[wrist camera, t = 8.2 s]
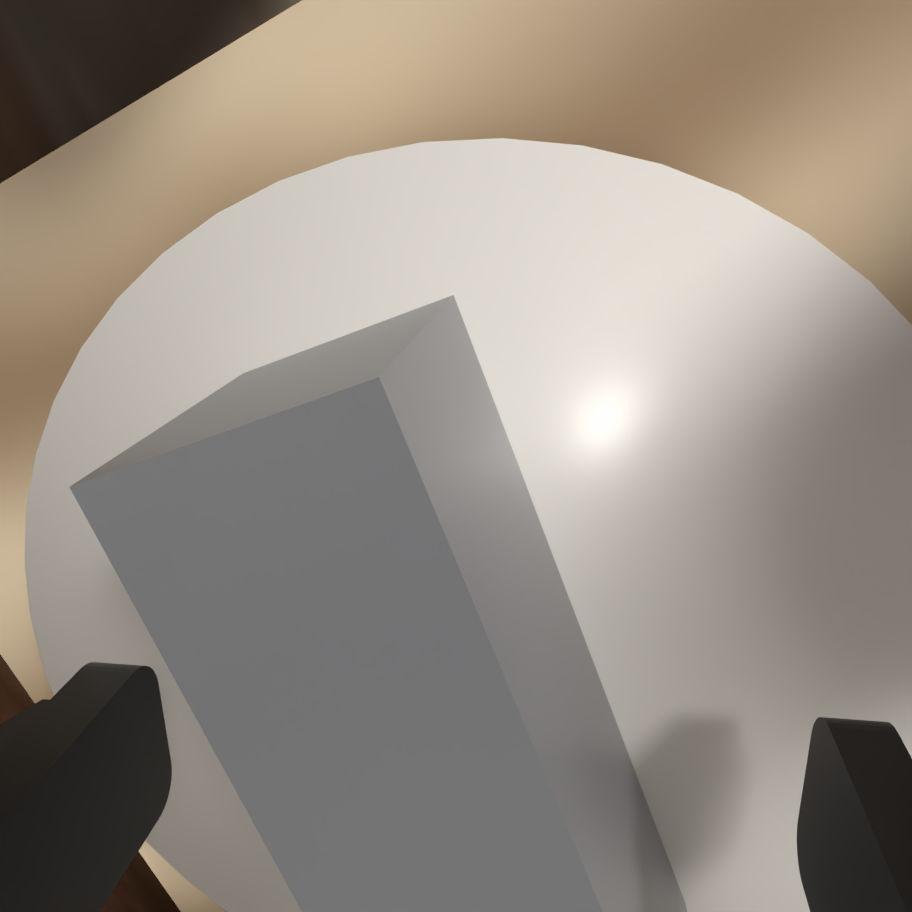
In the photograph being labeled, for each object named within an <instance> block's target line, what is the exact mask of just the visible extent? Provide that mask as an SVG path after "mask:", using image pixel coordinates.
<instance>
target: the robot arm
mask: <svg viewBox="0 0 912 912" xmlns="http://www.w3.org/2000/svg"><path fill="white" fill-rule="evenodd" d="M171 778H172V765H171V758H170V751H169V745H168V739H167V733H166V727H165V720H164V714H163V708H162V702H161V696H160V689H159V683H158V679H157V676H156V674H155V672H154V670H153V669H152V668H151V667H149V666H141V665H127V664H113V663H99V662H91V663H87V664H86V665H84V666H83V667H82V668H81V669H79V670H78V672H77V673H76V674H75V675H74V676H73V677H72V678H71V679H70V680H69V681H68V682H67V683H66V684H65V685H64V686H63V687H62V688H61V689H60V690H59V691H58V692H57V693H56V694H55V695H54V696H53V697H52V698H51V699H50V700H46V699H42V700H40V701H39V702H37V703H35V704H34V705H32V706H30V707H29V708H27V709H25V710H24V711H22V712H20V713H19V714H17V715H15V716H14V717H12V718H10V719H9V720H7V721H5V722H4V723H2V724H0V912H100V911H101V909H102V908H103V906H104V904H105V903H106V901H107V900H108V898H109V897H110V895H111V893H112V892H113V890H114V889H115V887H116V886H117V884H118V882H119V881H120V879H121V878H122V876H123V875H124V873H125V871H126V870H127V868H128V867H129V865H130V864H131V862H132V860H133V859H134V857H135V856H136V854H137V853H138V851H139V849H140V848H141V846H142V845H143V843H144V842H145V840H146V838H147V837H148V835H149V834H150V832H151V831H152V829H153V827H154V826H155V824H156V823H157V821H158V820H159V818H160V816H161V814H162V812H163V810H164V808H165V805H166V802H167V799H168V795H169V791H170V786H171ZM797 856H798V865H799V872H800V877H801V881H802V885H803V889H804V892H805V896H806V899H807V902H808V906H809V909H810V912H912V758H911V756H910V754H909V752H908V750H907V748H906V747H905V745H904V743H903V741H902V739H901V737H900V735H899V734H898V732H897V730H896V729H895V727H894V726H893V725H892V724H891V723H889V722H881V721H867V720H853V719H840V718H826V717H819V718H817V719H816V721H815V723H814V725H813V728H812V733H811V739H810V745H809V752H808V758H807V764H806V771H805V777H804V784H803V790H802V797H801V803H800V810H799V816H798V824H797Z"/></svg>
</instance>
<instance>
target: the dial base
mask: <svg viewBox="0 0 912 912" xmlns="http://www.w3.org/2000/svg"><path fill="white" fill-rule="evenodd" d="M494 138H507V139H518V140H529V141H540V142H551V143H562V144H573V145H583V146H587V147H591V148H596V149H600V150H604V151H608V152H613V153H617V154H621V155H625V156H630V157H634V158H638V159H642V160H647V161H651V162H655V163H659V164H663V165H666V166H668V167H671V168H673V169H676V170H678V171H681V172H684V173H686V174H689V175H691V176H694V177H696V178H699V179H702V180H704V181H707V182H709V183H712V184H714V185H717V186H719V187H722V188H725V189H727V190H730V191H732V192H735V193H737V194H739V195H741V196H743V197H745V198H746V199H748V200H750V201H752V202H753V203H755V204H757V205H759V206H761V207H762V208H764V209H766V210H768V211H769V212H771V213H773V214H775V215H777V216H778V217H780V218H782V219H784V220H785V221H787V222H789V223H791V224H792V225H794V226H796V227H798V228H800V229H801V230H803V231H805V232H807V233H808V234H810V235H811V236H812V237H813V238H815V239H816V240H817V241H819V242H820V243H821V244H822V245H824V246H825V247H826V248H828V249H829V250H830V251H831V252H833V253H834V254H835V255H837V256H838V257H839V258H841V259H842V260H843V261H844V262H846V263H847V264H848V265H850V266H851V267H852V268H853V269H855V270H856V271H857V272H859V273H860V274H861V275H862V276H864V277H865V278H866V279H868V280H869V281H870V282H871V283H872V284H873V285H874V286H875V287H876V288H877V289H878V290H879V291H880V292H881V293H882V294H883V295H884V296H885V298H886V299H887V300H888V301H889V302H890V303H891V304H892V305H893V306H894V307H895V308H896V309H897V310H898V311H899V312H900V313H901V314H902V315H903V316H904V317H905V319H906V320H907V321H908V322H909V323H910V324H911V325H912V0H302V1H300V2H298V3H297V4H295V5H293V6H292V7H290V8H289V9H287V10H285V11H284V12H282V13H280V14H279V15H277V16H275V17H274V18H272V19H270V20H269V21H267V22H265V23H264V24H262V25H260V26H259V27H257V28H256V29H254V30H252V31H251V32H249V33H247V34H246V35H244V36H242V37H241V38H239V39H237V40H236V41H234V42H232V43H231V44H229V45H228V46H226V47H224V48H223V49H221V50H219V51H218V52H216V53H214V54H213V55H211V56H209V57H208V58H206V59H204V60H203V61H201V62H200V63H198V64H196V65H195V66H193V67H191V68H190V69H188V70H186V71H185V72H183V73H181V74H180V75H178V76H176V77H175V78H173V79H172V80H170V81H168V82H167V83H165V84H163V85H162V86H160V87H158V88H157V89H155V90H153V91H152V92H150V93H148V94H147V95H145V96H143V97H142V98H140V99H139V100H137V101H135V102H134V103H132V104H130V105H129V106H127V107H125V108H124V109H122V110H120V111H119V112H117V113H115V114H114V115H112V116H111V117H109V118H107V119H106V120H104V121H102V122H101V123H99V124H97V125H96V126H94V127H92V128H91V129H89V130H87V131H86V132H84V133H83V134H81V135H79V136H78V137H76V138H74V139H73V140H71V141H69V142H68V143H66V144H64V145H63V146H61V147H59V148H58V149H56V150H54V151H53V152H51V153H50V154H48V155H46V156H45V157H43V158H41V159H40V160H38V161H36V162H35V163H33V164H31V165H30V166H28V167H26V168H25V169H23V170H22V171H20V172H18V173H17V174H15V175H13V176H12V177H10V178H8V179H7V180H5V181H3V182H2V183H0V654H1V656H2V657H3V659H4V660H5V661H6V663H7V664H8V666H9V667H10V669H11V670H12V671H13V673H14V674H15V676H16V677H17V679H18V680H19V681H20V683H21V684H22V686H23V687H24V689H25V690H26V691H27V693H28V694H29V696H30V697H31V699H32V700H33V701H34V703H37V702H39V701H40V700H42V699H46V700H50V699H51V698H52V697H53V696H54V695H53V692H52V690H51V687H50V685H49V682H48V679H47V677H46V674H45V671H44V669H43V666H42V662H41V658H40V654H39V650H38V646H37V641H36V637H35V633H34V629H33V625H32V621H31V617H30V609H29V600H28V591H27V582H26V572H25V563H24V561H25V529H26V507H27V501H28V495H29V490H30V484H31V478H32V473H33V467H34V461H35V456H36V452H37V449H38V446H39V443H40V440H41V437H42V434H43V431H44V428H45V425H46V422H47V419H48V417H49V414H50V411H51V408H52V405H53V402H54V399H55V397H56V395H57V393H58V392H59V390H60V388H61V386H62V384H63V382H64V380H65V378H66V376H67V374H68V372H69V370H70V368H71V366H72V364H73V363H74V361H75V359H76V357H77V355H78V353H79V351H80V349H81V347H82V346H83V345H84V343H85V342H86V341H87V339H88V338H89V336H90V335H91V334H92V332H93V331H94V330H95V328H96V327H97V325H98V324H99V323H100V321H101V320H102V319H103V317H104V316H105V315H106V313H107V312H108V310H109V309H110V308H111V306H112V305H113V304H114V302H115V301H116V299H117V298H118V297H119V296H120V295H121V294H122V293H123V292H124V291H125V290H126V289H127V288H128V287H129V286H130V285H131V284H132V283H133V282H134V281H135V280H136V279H137V278H138V277H139V276H140V275H141V274H142V273H143V272H144V271H145V270H146V269H147V268H148V267H149V266H150V265H151V264H152V263H153V262H154V261H155V260H156V259H157V258H158V257H159V256H160V255H161V254H162V253H163V252H165V251H166V250H168V249H169V248H170V247H172V246H173V245H174V244H176V243H177V242H178V241H180V240H181V239H183V238H184V237H185V236H187V235H188V234H189V233H191V232H192V231H193V230H195V229H196V228H198V227H199V226H200V225H202V224H203V223H204V222H206V221H207V220H208V219H210V218H211V217H213V216H214V215H215V214H217V213H219V212H220V211H222V210H224V209H226V208H228V207H230V206H232V205H234V204H236V203H238V202H239V201H241V200H243V199H245V198H247V197H249V196H251V195H253V194H255V193H257V192H259V191H260V190H262V189H264V188H266V187H268V186H270V185H272V184H274V183H276V182H278V181H280V180H283V179H286V178H288V177H291V176H294V175H297V174H300V173H303V172H306V171H308V170H311V169H314V168H317V167H320V166H323V165H326V164H328V163H331V162H334V161H337V160H340V159H343V158H346V157H349V156H354V155H359V154H364V153H369V152H374V151H380V150H385V149H390V148H395V147H400V146H405V145H411V144H416V143H421V142H433V141H453V140H474V139H494ZM139 853H140V854H141V856H142V857H143V858H144V860H145V861H146V863H147V864H148V865H149V867H150V868H151V870H152V871H153V873H154V874H155V875H156V877H157V878H158V880H159V881H160V883H161V884H162V885H163V887H164V888H165V890H166V891H167V893H168V894H169V895H170V897H171V898H172V900H173V901H174V903H175V904H176V905H177V907H178V908H179V910H180V911H181V912H227V911H226V910H224V909H223V908H222V907H221V906H219V905H218V904H217V903H215V902H214V901H213V900H212V899H210V898H209V897H208V896H207V895H205V894H204V893H203V892H201V891H200V890H199V889H198V888H196V887H195V886H194V885H192V884H191V883H190V882H189V881H187V880H186V879H185V878H184V877H183V876H182V875H181V874H180V873H179V872H178V871H177V870H175V869H174V868H173V867H172V866H171V865H170V864H169V863H168V862H167V861H166V860H165V859H164V858H163V857H162V856H161V855H160V854H159V853H158V852H157V851H156V850H155V849H153V848H152V847H151V846H150V845H149V844H148V843H147V841H146V840H145V842H144V843H143V845H142V846H141V848H140V849H139Z"/></svg>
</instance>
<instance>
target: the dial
mask: <svg viewBox="0 0 912 912" xmlns="http://www.w3.org/2000/svg"><path fill="white" fill-rule="evenodd" d="M24 563H25V572H26V582H27V591H28V600H29V609H30V617H31V621H32V625H33V629H34V633H35V637H36V641H37V646H38V650H39V654H40V658H41V662H42V666H43V669H44V671H45V674H46V677H47V679H48V682H49V685H50V687H51V690H52V692H53V695H55V694H56V693H57V692H58V691H59V690H60V689H61V688H62V687H63V686H64V685H65V684H66V683H67V682H68V681H69V680H70V679H71V678H72V677H73V676H74V675H75V674H76V673H77V672H78V670H79V669H81V668H82V667H83V666H84V665H86V664H87V663H91V662H99V663H113V664H127V665H141V666H149V667H151V668H152V669H153V670H154V672H155V674H156V676H157V679H158V683H159V689H160V696H161V702H162V708H163V714H164V720H165V727H166V733H167V739H168V745H169V751H170V758H171V765H172V778H171V786H170V791H169V795H168V799H167V802H166V805H165V808H164V810H163V812H162V814H161V816H160V818H159V820H158V821H157V823H156V824H155V826H154V827H153V829H152V831H151V832H150V834H149V835H148V837H147V838H146V841H147V843H148V844H149V845H150V846H151V847H152V848H153V849H155V850H156V851H157V852H158V853H159V854H160V855H161V856H162V857H163V858H164V859H165V860H166V861H167V862H168V863H169V864H170V865H171V866H172V867H173V868H174V869H175V870H177V871H178V872H179V873H180V874H181V875H182V876H183V877H184V878H185V879H186V880H187V881H189V882H190V883H191V884H192V885H194V886H195V887H196V888H198V889H199V890H200V891H201V892H203V893H204V894H205V895H207V896H208V897H209V898H210V899H212V900H213V901H214V902H215V903H217V904H218V905H219V906H221V907H222V908H223V909H224V910H226V911H227V912H810V909H809V906H808V902H807V899H806V896H805V892H804V889H803V885H802V881H801V877H800V872H799V865H798V856H797V824H798V816H799V810H800V803H801V797H802V790H803V784H804V777H805V771H806V764H807V758H808V752H809V745H810V739H811V733H812V728H813V725H814V723H815V721H816V719H817V718H819V717H826V718H840V719H853V720H867V721H881V722H889V723H891V724H892V725H893V726H894V727H895V729H896V730H897V732H898V734H899V735H900V737H901V739H902V741H903V743H904V745H905V747H906V748H907V750H908V752H909V754H910V756H911V758H912V325H911V324H910V323H909V322H908V321H907V320H906V319H905V317H904V316H903V315H902V314H901V313H900V312H899V311H898V310H897V309H896V308H895V307H894V306H893V305H892V304H891V303H890V302H889V301H888V300H887V299H886V298H885V296H884V295H883V294H882V293H881V292H880V291H879V290H878V289H877V288H876V287H875V286H874V285H873V284H872V283H871V282H870V281H869V280H868V279H866V278H865V277H864V276H862V275H861V274H860V273H859V272H857V271H856V270H855V269H853V268H852V267H851V266H850V265H848V264H847V263H846V262H844V261H843V260H842V259H841V258H839V257H838V256H837V255H835V254H834V253H833V252H831V251H830V250H829V249H828V248H826V247H825V246H824V245H822V244H821V243H820V242H819V241H817V240H816V239H815V238H813V237H812V236H811V235H810V234H808V233H807V232H805V231H803V230H801V229H800V228H798V227H796V226H794V225H792V224H791V223H789V222H787V221H785V220H784V219H782V218H780V217H778V216H777V215H775V214H773V213H771V212H769V211H768V210H766V209H764V208H762V207H761V206H759V205H757V204H755V203H753V202H752V201H750V200H748V199H746V198H745V197H743V196H741V195H739V194H737V193H735V192H732V191H730V190H727V189H725V188H722V187H719V186H717V185H714V184H712V183H709V182H707V181H704V180H702V179H699V178H696V177H694V176H691V175H689V174H686V173H684V172H681V171H678V170H676V169H673V168H671V167H668V166H666V165H663V164H659V163H655V162H651V161H647V160H642V159H638V158H634V157H630V156H625V155H621V154H617V153H613V152H608V151H604V150H600V149H596V148H591V147H587V146H583V145H573V144H562V143H551V142H540V141H529V140H518V139H507V138H494V139H474V140H453V141H433V142H421V143H416V144H411V145H405V146H400V147H395V148H390V149H385V150H380V151H374V152H369V153H364V154H359V155H354V156H349V157H346V158H343V159H340V160H337V161H334V162H331V163H328V164H326V165H323V166H320V167H317V168H314V169H311V170H308V171H306V172H303V173H300V174H297V175H294V176H291V177H288V178H286V179H283V180H280V181H278V182H276V183H274V184H272V185H270V186H268V187H266V188H264V189H262V190H260V191H259V192H257V193H255V194H253V195H251V196H249V197H247V198H245V199H243V200H241V201H239V202H238V203H236V204H234V205H232V206H230V207H228V208H226V209H224V210H222V211H220V212H219V213H217V214H215V215H214V216H213V217H211V218H210V219H208V220H207V221H206V222H204V223H203V224H202V225H200V226H199V227H198V228H196V229H195V230H193V231H192V232H191V233H189V234H188V235H187V236H185V237H184V238H183V239H181V240H180V241H178V242H177V243H176V244H174V245H173V246H172V247H170V248H169V249H168V250H166V251H165V252H163V253H162V254H161V255H160V256H159V257H158V258H157V259H156V260H155V261H154V262H153V263H152V264H151V265H150V266H149V267H148V268H147V269H146V270H145V271H144V272H143V273H142V274H141V275H140V276H139V277H138V278H137V279H136V280H135V281H134V282H133V283H132V284H131V285H130V286H129V287H128V288H127V289H126V290H125V291H124V292H123V293H122V294H121V295H120V296H119V297H118V298H117V299H116V301H115V302H114V304H113V305H112V306H111V308H110V309H109V310H108V312H107V313H106V315H105V316H104V317H103V319H102V320H101V321H100V323H99V324H98V325H97V327H96V328H95V330H94V331H93V332H92V334H91V335H90V336H89V338H88V339H87V341H86V342H85V343H84V345H83V346H82V347H81V349H80V351H79V353H78V355H77V357H76V359H75V361H74V363H73V364H72V366H71V368H70V370H69V372H68V374H67V376H66V378H65V380H64V382H63V384H62V386H61V388H60V390H59V392H58V393H57V395H56V397H55V399H54V402H53V405H52V408H51V411H50V414H49V417H48V419H47V422H46V425H45V428H44V431H43V434H42V437H41V440H40V443H39V446H38V449H37V452H36V456H35V461H34V467H33V473H32V478H31V484H30V490H29V495H28V501H27V507H26V529H25V561H24Z"/></svg>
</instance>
